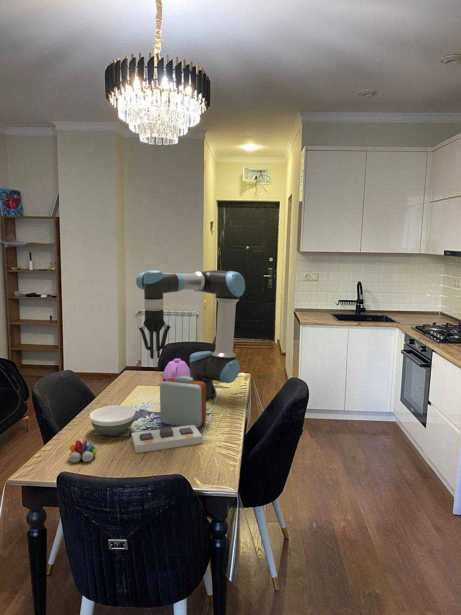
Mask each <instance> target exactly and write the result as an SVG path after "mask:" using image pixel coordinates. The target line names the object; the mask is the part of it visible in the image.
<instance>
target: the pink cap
mask: <svg viewBox="0 0 461 615" xmlns="http://www.w3.org/2000/svg"><path fill="white" fill-rule="evenodd" d="M178 376H189V377H190V366H188V364H187V363H186V362H185V361H184V360H182V359H181V358H174V359H173V360H171V361H169V362H168V363H167V365H166V366H165V368H164V370H163V376H162V378H163V379H165V380H164V381H166V380H167V379H169V378H176V377H178Z"/></svg>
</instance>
